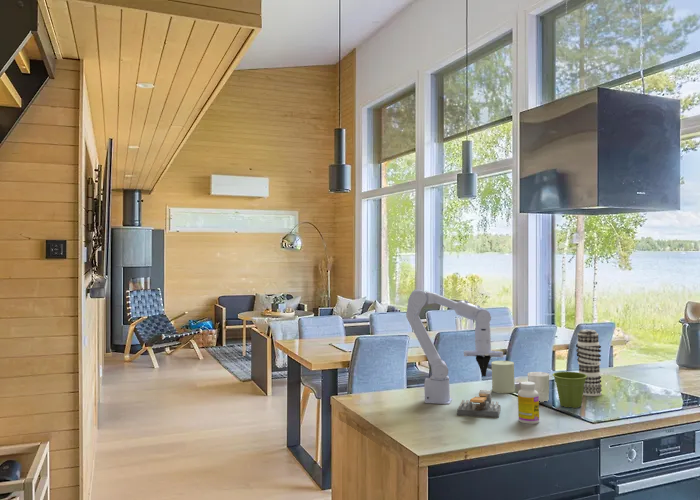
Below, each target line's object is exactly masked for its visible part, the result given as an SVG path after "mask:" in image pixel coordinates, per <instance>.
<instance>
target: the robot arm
mask: <svg viewBox="0 0 700 500" xmlns="http://www.w3.org/2000/svg"><path fill="white" fill-rule="evenodd" d="M426 303H427V305H431V304H437V305H440V306H443V307H446V308H448V309H452V310H454V312H455V314H456V315H457V316H460V317H463V318H465V319H468V320H470V321H474V323H475V325H474V326H475V327H474V339H475V341H474V342H475V343H474V344H475V350H464V351H463V357H475V361H476V363H477V364H478V367H479V369H480V374H481V377H486V376H487V370H488V366H489V364H490V360H491V359H492V358H501V359H502V358H504V351H498V350H497V351H496V350H492V344H491V341H492V338H491V337H492V336H491V320H492V316H491V312H489V311H488V310H487V308H484V307H481V306H480V305H477V304H476V305H475V304H472V303H469V301H468V300H466V299H465V300H459V301H456V300H452V299H450V298H447V297H445V296H443V295H441V294H438V293H436V292H432V291H427V290H425V291H424V290H423V289H421V288H417V289H416V288H415V289H414V290H412V292H411V293H410V295H409V297H408V300H407V308H406V319H407V322H408V324H409V325H410V327H411V329H412V331H413V333H414V335H415V337H416V339H417V340H418V343H419V344H420V347H421V348H422V351H423V352H424V354H425V356H426V358H427V361H428V363H429V365H430V369H431V375H430V376H429V377H425V379H424V387H423V388H424V403H425V404H438V405H440V404H441V405H450V404H451V402H452V401H453V397H451V390H450V376H449V368H448V365H447V362H446V361H445V360H444V359H442V358H441V356H440V354H439V352H438V351H437V349H436V348H437V347H436V346H435V344H434V343H433V341H432V339H431V337H430V335H429V333H428V331H427V329H426V327H425V325H424V323H423V322H422V319H421V318H420V314H421V311H422V308H423V307H424V306H425V305H426Z"/></svg>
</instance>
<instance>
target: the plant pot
mask: <svg viewBox="0 0 700 500" xmlns="http://www.w3.org/2000/svg"><path fill="white" fill-rule="evenodd" d="M552 376H553V377H554V382H555V386H556V390H557V394H558V396H557V397H558V399H559V400H558V401H559V405H560V406H561V407H563V406H564V407H565V408H567V407H568V408H572V409H573V408H574V409H576V408H578V409H579V408H580V407H581V406H582V405H583V404H582V403H583V396H584V395H583V390H584V384H585V380H586V378H587V375H586V374H583V373H579V372H576V371H556V372H553V373H552Z"/></svg>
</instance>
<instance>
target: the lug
mask: <svg viewBox="0 0 700 500" xmlns="http://www.w3.org/2000/svg"><path fill="white" fill-rule="evenodd" d="M478 397H487V400H485V403H479V404H486V401H489V404H490V405H491V403H492V389H491V390H490V389H489V390H487V389H479V392H478Z"/></svg>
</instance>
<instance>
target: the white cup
mask: <svg viewBox="0 0 700 500" xmlns="http://www.w3.org/2000/svg"><path fill="white" fill-rule="evenodd" d="M527 382H534V383H535V390H536V391H537V392H538V394H539V401H540V402H539V403H545V402H544V401H547V402H548V400H549V401H550V399H549V396H550V395H549V394H550V374H549V372H542V371H531V372H527Z"/></svg>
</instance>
